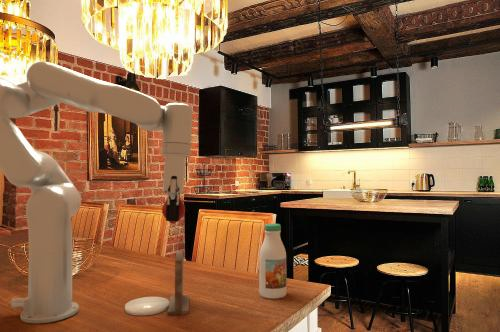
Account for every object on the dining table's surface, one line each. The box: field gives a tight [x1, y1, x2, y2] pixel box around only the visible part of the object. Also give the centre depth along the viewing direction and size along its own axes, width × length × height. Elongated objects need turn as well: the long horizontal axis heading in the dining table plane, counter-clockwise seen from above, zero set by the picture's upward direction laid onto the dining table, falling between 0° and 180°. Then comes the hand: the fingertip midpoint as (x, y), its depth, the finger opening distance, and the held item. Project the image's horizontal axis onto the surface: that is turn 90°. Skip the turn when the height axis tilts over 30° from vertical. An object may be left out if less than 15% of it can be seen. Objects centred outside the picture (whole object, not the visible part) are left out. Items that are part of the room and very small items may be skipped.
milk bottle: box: [258, 223, 287, 300], centre depth 106 cm, size 8×8×20 cm
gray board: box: [167, 250, 190, 316], centre depth 97 cm, size 5×12×13 cm, turn 9°
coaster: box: [124, 296, 170, 317], centre depth 96 cm, size 11×11×1 cm
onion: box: [161, 198, 186, 225], centre depth 98 cm, size 6×6×8 cm
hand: (173, 218), depth 98 cm, fingers closed on onion, 5 cm apart
